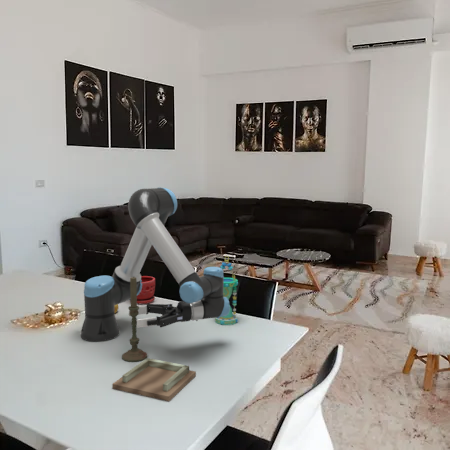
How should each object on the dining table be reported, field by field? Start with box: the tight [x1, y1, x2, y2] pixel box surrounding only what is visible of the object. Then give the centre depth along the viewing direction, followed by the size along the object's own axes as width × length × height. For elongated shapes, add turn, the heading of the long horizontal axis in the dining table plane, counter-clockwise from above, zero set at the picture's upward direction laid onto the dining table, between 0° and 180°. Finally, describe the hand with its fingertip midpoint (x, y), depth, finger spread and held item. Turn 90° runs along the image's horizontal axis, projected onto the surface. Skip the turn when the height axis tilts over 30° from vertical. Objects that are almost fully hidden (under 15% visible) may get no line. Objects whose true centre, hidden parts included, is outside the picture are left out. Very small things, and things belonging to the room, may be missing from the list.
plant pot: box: [137, 275, 156, 305], centre depth 232 cm, size 13×13×12 cm
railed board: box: [111, 357, 197, 402], centre depth 146 cm, size 20×18×4 cm
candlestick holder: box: [121, 277, 148, 363], centre depth 164 cm, size 9×9×30 cm
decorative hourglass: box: [214, 255, 239, 326], centre depth 203 cm, size 11×11×30 cm
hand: (132, 317), depth 163 cm, fingers open, 13 cm apart
